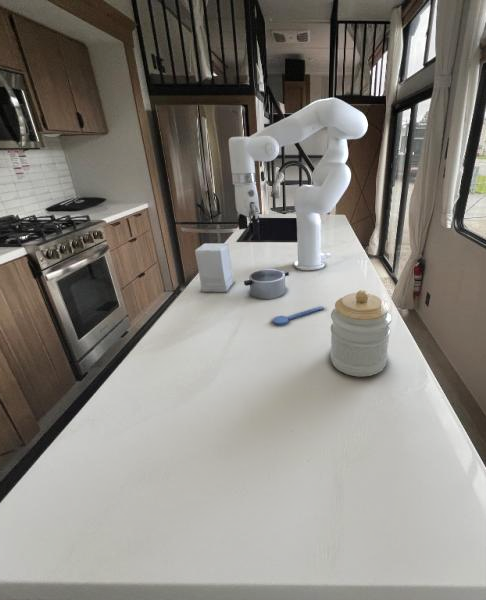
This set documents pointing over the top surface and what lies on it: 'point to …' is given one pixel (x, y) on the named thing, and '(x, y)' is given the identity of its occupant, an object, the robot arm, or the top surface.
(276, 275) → the pot
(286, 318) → the spoon
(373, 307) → the jar
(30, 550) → the top surface
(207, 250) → the white product box
